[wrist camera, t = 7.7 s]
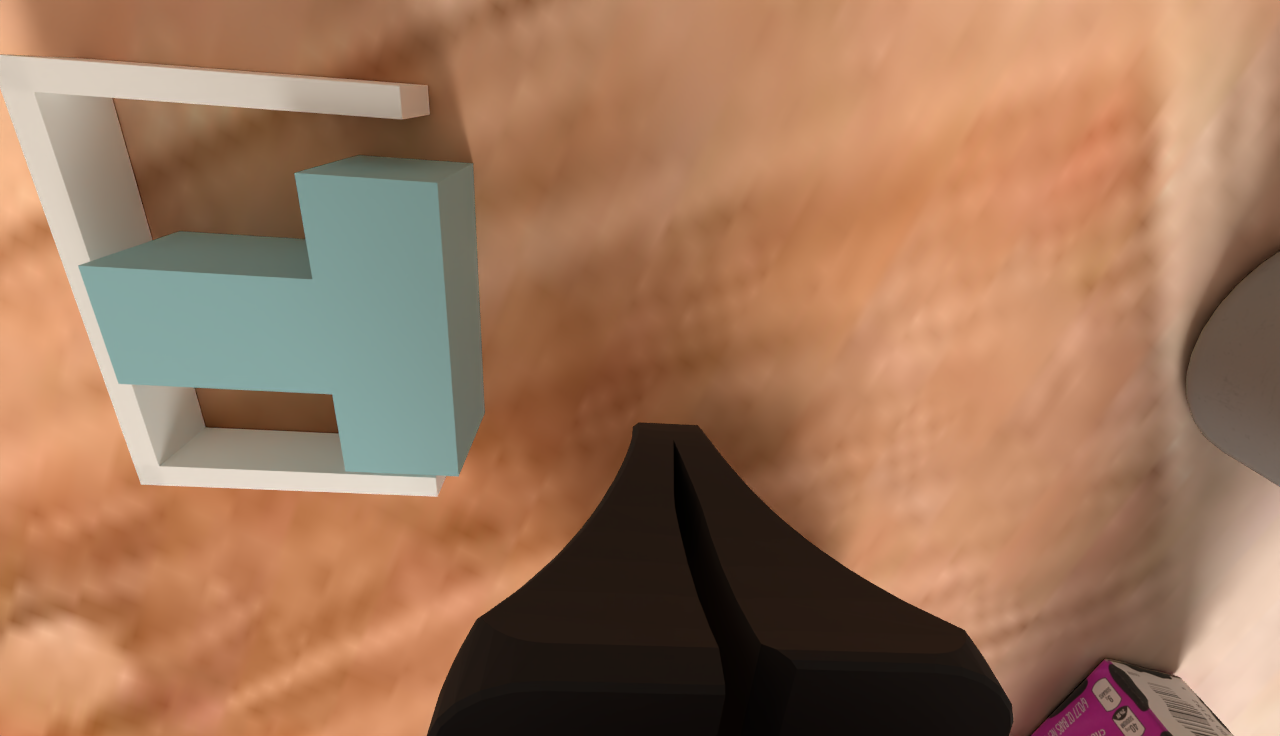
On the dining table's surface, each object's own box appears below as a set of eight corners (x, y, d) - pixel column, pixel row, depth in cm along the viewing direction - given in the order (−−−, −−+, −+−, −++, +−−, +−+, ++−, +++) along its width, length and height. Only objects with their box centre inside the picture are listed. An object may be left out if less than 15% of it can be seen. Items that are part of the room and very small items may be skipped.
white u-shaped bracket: (427, 85, 18) (398, 85, 15) (455, 456, 23) (437, 496, 21) (72, 57, 17) (-12, 53, 15) (188, 444, 23) (140, 484, 20)
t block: (472, 163, 19) (437, 182, 15) (484, 412, 22) (458, 476, 19) (156, 140, 18) (39, 155, 14) (224, 400, 22) (145, 463, 18)
